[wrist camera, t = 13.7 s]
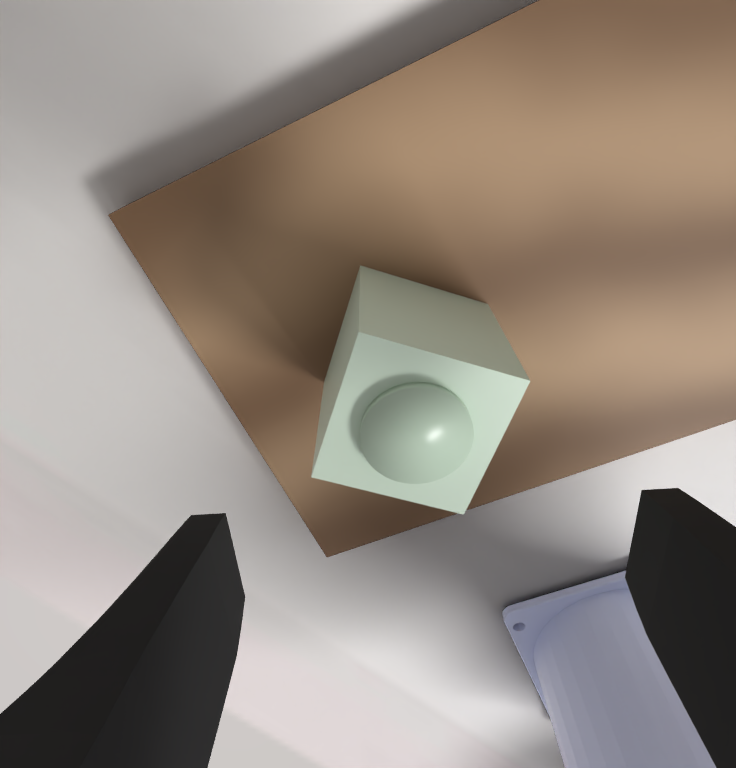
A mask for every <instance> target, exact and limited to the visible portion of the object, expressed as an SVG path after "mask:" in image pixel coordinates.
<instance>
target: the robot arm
mask: <svg viewBox="0 0 736 768" xmlns="http://www.w3.org/2000/svg"><path fill="white" fill-rule="evenodd" d="M244 602H245V594H244V590H243V586H242V582H241V577H240V573H239V569H238V564H237V560H236V556H235V552H234V547H233V543H232V539H231V534H230V530H229V526H228V522H227V517H226V513H222V514H204V515H191V516H190V517H189V518H188V519H187V520H186V522H185V523H184V524H183V525H182V526H181V527H180V528H179V529H178V530H177V532H176V533H175V534H174V535H173V536H172V537H171V538H170V540H169V541H168V542H167V543H166V544H165V545H164V547H163V548H162V549H161V550H160V551H159V552H158V554H157V555H156V556H155V557H154V558H153V559H152V560H151V562H150V563H149V564H148V565H147V566H146V567H145V568H144V570H143V571H142V572H141V573H140V574H139V575H138V576H137V578H136V579H135V580H134V581H133V582H132V583H131V584H130V585H129V586H128V588H127V589H126V590H125V591H124V592H123V593H122V594H121V595H120V596H119V597H118V599H117V600H116V601H115V602H114V603H113V604H112V605H111V606H110V607H109V609H108V610H107V611H106V612H105V613H104V614H103V615H102V616H101V617H100V618H99V619H98V620H97V621H96V622H95V623H94V624H93V626H92V627H91V628H90V629H89V630H88V631H87V632H86V633H85V634H84V635H83V636H82V637H81V638H80V639H79V640H78V641H77V642H76V643H75V644H74V645H73V646H72V647H71V648H70V649H69V650H68V651H67V652H66V653H65V654H64V655H63V656H62V657H61V658H60V659H59V660H58V661H57V662H56V663H55V664H54V665H53V666H52V667H51V668H50V669H49V670H48V671H47V672H46V673H45V674H44V675H43V676H42V677H41V678H39V680H37V681H36V682H35V683H34V684H33V685H32V686H31V687H30V688H29V689H28V690H27V691H26V692H24V693H23V694H22V695H21V696H20V697H19V698H18V699H17V700H16V701H14V702H13V703H12V704H11V705H10V706H9V707H8V708H7V709H6V710H4V711H3V712H2V713H1V714H0V768H207V767H208V763H209V759H210V756H211V752H212V748H213V744H214V741H215V737H216V733H217V729H218V726H219V722H220V718H221V714H222V711H223V707H224V703H225V699H226V695H227V691H228V688H229V684H230V680H231V676H232V672H233V668H234V664H235V660H236V656H237V651H238V644H239V638H240V631H241V624H242V617H243V609H244ZM502 615H503V619H504V623H505V625H506V627H507V629H508V631H509V633H510V635H511V637H512V639H513V641H514V643H515V645H516V648H517V650H518V652H519V654H520V656H521V658H522V660H523V662H524V664H525V666H526V668H527V671H528V673H529V675H530V677H531V679H532V681H533V683H534V685H535V687H536V689H537V691H538V694H539V696H540V698H541V700H542V702H543V704H544V706H545V708H546V710H547V712H548V714H549V717H550V719H551V722H552V725H553V729H554V732H555V736H556V739H557V742H558V746H559V749H560V753H561V756H562V760H563V763H564V766H565V768H736V527H735V526H733V525H732V524H730V523H729V522H728V521H726V520H725V519H723V518H722V517H720V516H719V515H717V514H716V513H715V512H713V511H712V510H710V509H709V508H707V507H706V506H704V505H703V504H701V503H700V502H699V501H697V500H696V499H694V498H693V497H691V496H690V495H688V494H686V493H685V492H683V491H682V490H680V489H678V488H672V489H654V490H642V492H641V497H640V502H639V507H638V512H637V517H636V523H635V528H634V533H633V538H632V543H631V548H630V553H629V559H628V564H627V569H626V571H623V572H619V573H616V574H613V575H609V576H606V577H603V578H599V579H596V580H593V581H589V582H586V583H583V584H579V585H576V586H573V587H569V588H566V589H563V590H559V591H556V592H553V593H549V594H546V595H543V596H539V597H536V598H533V599H529V600H526V601H523V602H519V603H516V604H513V605H510V606H508V607H506V608H505V609H504V610H503V612H502Z"/></svg>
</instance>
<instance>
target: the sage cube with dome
mask: <svg viewBox="0 0 736 768" xmlns="http://www.w3.org/2000/svg"><path fill="white" fill-rule="evenodd" d="M529 383H530V379H529V377H528V376H527V374H526V372H525V370H524V368H523V366H522V365H521V363H520V361H519V359H518V357H517V356H516V354H515V352H514V350H513V348H512V347H511V345H510V343H509V341H508V339H507V338H506V336H505V334H504V332H503V330H502V329H501V327H500V325H499V323H498V321H497V319H496V318H495V316H494V314H493V312H492V310H491V309H490V307H489V305H488V304H486V303H483V302H480V301H476V300H473V299H470V298H466V297H463V296H460V295H456V294H453V293H450V292H447V291H443V290H440V289H437V288H433V287H430V286H427V285H423V284H420V283H417V282H414V281H410V280H407V279H404V278H400V277H397V276H394V275H390V274H387V273H384V272H381V271H377V270H374V269H371V268H367V267H364V266H361V265H360V268H359V271H358V274H357V278H356V281H355V284H354V287H353V291H352V294H351V297H350V300H349V303H348V307H347V310H346V313H345V316H344V320H343V323H342V326H341V329H340V332H339V336H338V339H337V342H336V345H335V349H334V352H333V355H332V358H331V361H330V365H329V368H328V371H327V374H326V378H325V381H324V386H323V394H322V401H321V408H320V416H319V423H318V430H317V438H316V445H315V453H314V460H313V467H312V475H311V477H312V478H317V479H321V480H325V481H329V482H333V483H337V484H341V485H345V486H349V487H353V488H357V489H361V490H366V491H370V492H374V493H378V494H382V495H386V496H390V497H394V498H398V499H402V500H406V501H410V502H414V503H419V504H423V505H427V506H431V507H435V508H439V509H443V510H447V511H451V512H455V513H459V514H463V515H464V513H465V511H466V509H467V507H468V505H469V503H470V501H471V499H472V497H473V495H474V493H475V491H476V489H477V487H478V485H479V483H480V481H481V479H482V477H483V475H484V473H485V471H486V469H487V467H488V465H489V463H490V461H491V459H492V457H493V455H494V453H495V451H496V449H497V447H498V445H499V443H500V441H501V439H502V437H503V435H504V433H505V431H506V429H507V427H508V425H509V423H510V421H511V419H512V417H513V415H514V413H515V411H516V409H517V407H518V405H519V403H520V401H521V399H522V397H523V395H524V393H525V391H526V389H527V387H528V385H529Z"/></svg>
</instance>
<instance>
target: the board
mask: <svg viewBox="0 0 736 768" xmlns="http://www.w3.org/2000/svg"><path fill="white" fill-rule="evenodd" d="M108 216H109V217H110V219H111V220H112V222H113V223H114V225H115V227H116V228H117V230H118V231H119V233H120V234H121V236H122V237H123V239H124V241H125V242H126V244H127V245H128V247H129V248H130V250H131V252H132V253H133V255H134V256H135V258H136V259H137V261H138V262H139V264H140V266H141V267H142V269H143V270H144V272H145V273H146V275H147V277H148V278H149V280H150V281H151V283H152V284H153V286H154V288H155V289H156V291H157V292H158V294H159V295H160V297H161V298H162V300H163V302H164V303H165V305H166V306H167V308H168V309H169V311H170V313H171V314H172V316H173V317H174V319H175V320H176V322H177V324H178V325H179V327H180V328H181V330H182V331H183V333H184V334H185V336H186V338H187V339H188V341H189V342H190V344H191V345H192V347H193V349H194V350H195V352H196V353H197V355H198V356H199V358H200V359H201V361H202V363H203V364H204V366H205V367H206V369H207V370H208V372H209V374H210V375H211V377H212V378H213V380H214V381H215V383H216V385H217V386H218V388H219V389H220V391H221V392H222V394H223V395H224V397H225V399H226V400H227V402H228V403H229V405H230V406H231V408H232V410H233V411H234V413H235V414H236V416H237V417H238V419H239V421H240V422H241V424H242V425H243V427H244V428H245V430H246V431H247V433H248V435H249V436H250V438H251V439H252V441H253V442H254V444H255V446H256V447H257V449H258V450H259V452H260V453H261V455H262V457H263V458H264V460H265V461H266V463H267V464H268V466H269V467H270V469H271V471H272V472H273V474H274V475H275V477H276V478H277V480H278V482H279V483H280V485H281V486H282V488H283V489H284V491H285V492H286V494H287V496H288V497H289V499H290V500H291V502H292V503H293V505H294V507H295V508H296V510H297V511H298V513H299V514H300V516H301V518H302V519H303V521H304V522H305V524H306V525H307V527H308V528H309V530H310V532H311V533H312V535H313V536H314V538H315V539H316V541H317V543H318V544H319V546H320V547H321V549H322V550H323V552H324V554H325V555H326V557H330V556H333V555H336V554H339V553H342V552H344V551H347V550H350V549H353V548H356V547H359V546H362V545H365V544H368V543H371V542H374V541H377V540H380V539H383V538H386V537H389V536H392V535H395V534H398V533H401V532H404V531H407V530H410V529H413V528H416V527H419V526H422V525H425V524H428V523H431V522H434V521H436V520H439V519H442V518H445V517H448V516H451V515H454V514H457V513H455V512H451V511H447V510H443V509H439V508H435V507H431V506H427V505H423V504H419V503H414V502H410V501H406V500H402V499H398V498H394V497H390V496H386V495H382V494H378V493H374V492H370V491H366V490H361V489H357V488H353V487H349V486H345V485H341V484H337V483H333V482H329V481H325V480H321V479H317V478H312V477H311V475H312V467H313V460H314V453H315V445H316V438H317V430H318V423H319V416H320V408H321V401H322V394H323V386H324V381H325V378H326V374H327V371H328V368H329V365H330V361H331V358H332V355H333V352H334V349H335V345H336V342H337V339H338V336H339V332H340V329H341V326H342V323H343V320H344V316H345V313H346V310H347V307H348V303H349V300H350V297H351V294H352V291H353V287H354V284H355V281H356V278H357V274H358V271H359V268H360V265H361V266H364V267H367V268H371V269H374V270H377V271H381V272H384V273H387V274H390V275H394V276H397V277H400V278H404V279H407V280H410V281H414V282H417V283H420V284H423V285H427V286H430V287H433V288H437V289H440V290H443V291H447V292H450V293H453V294H456V295H460V296H463V297H466V298H470V299H473V300H476V301H480V302H483V303H486V304H488V305H489V307H490V309H491V310H492V312H493V314H494V316H495V318H496V319H497V321H498V323H499V325H500V327H501V329H502V330H503V332H504V334H505V336H506V338H507V339H508V341H509V343H510V345H511V347H512V348H513V350H514V352H515V354H516V356H517V357H518V359H519V361H520V363H521V365H522V366H523V368H524V370H525V372H526V374H527V376H528V377H529V379H530V383H529V385H528V387H527V389H526V391H525V393H524V395H523V397H522V399H521V401H520V403H519V405H518V407H517V409H516V411H515V413H514V415H513V417H512V419H511V421H510V423H509V425H508V427H507V429H506V431H505V433H504V435H503V437H502V439H501V441H500V443H499V445H498V447H497V449H496V451H495V453H494V455H493V457H492V459H491V461H490V463H489V465H488V467H487V469H486V471H485V473H484V475H483V477H482V479H481V481H480V483H479V485H478V487H477V489H476V491H475V493H474V495H473V497H472V499H471V501H470V503H469V505H468V507H467V509H466V510H469V509H472V508H475V507H478V506H481V505H484V504H487V503H490V502H493V501H496V500H499V499H502V498H505V497H508V496H511V495H514V494H517V493H520V492H523V491H526V490H528V489H531V488H534V487H537V486H540V485H543V484H546V483H549V482H552V481H555V480H558V479H561V478H564V477H567V476H570V475H573V474H576V473H579V472H582V471H585V470H588V469H591V468H594V467H597V466H600V465H603V464H606V463H609V462H612V461H615V460H618V459H620V458H623V457H626V456H629V455H632V454H635V453H638V452H641V451H644V450H647V449H650V448H653V447H656V446H659V445H662V444H665V443H668V442H671V441H674V440H677V439H680V438H683V437H686V436H689V435H692V434H695V433H698V432H701V431H704V430H707V429H710V428H712V427H715V426H718V425H721V424H724V423H727V422H730V421H733V420H736V0H538V1H536V2H534V3H532V4H530V5H528V6H526V7H524V8H522V9H520V10H518V11H516V12H514V13H512V14H510V15H508V16H506V17H504V18H502V19H500V20H498V21H496V22H494V23H492V24H490V25H488V26H486V27H484V28H482V29H480V30H478V31H476V32H474V33H472V34H470V35H468V36H466V37H464V38H462V39H460V40H458V41H456V42H454V43H452V44H450V45H448V46H446V47H444V48H442V49H440V50H438V51H436V52H434V53H432V54H430V55H428V56H426V57H424V58H422V59H420V60H418V61H416V62H414V63H412V64H410V65H408V66H406V67H404V68H402V69H400V70H398V71H396V72H394V73H392V74H390V75H387V76H385V77H383V78H381V79H379V80H377V81H375V82H373V83H371V84H369V85H367V86H365V87H363V88H361V89H359V90H357V91H355V92H353V93H351V94H349V95H347V96H345V97H343V98H341V99H339V100H337V101H335V102H333V103H331V104H329V105H327V106H325V107H323V108H321V109H319V110H317V111H315V112H313V113H311V114H309V115H307V116H305V117H303V118H301V119H299V120H297V121H295V122H293V123H291V124H289V125H287V126H285V127H283V128H281V129H279V130H277V131H275V132H273V133H271V134H269V135H267V136H265V137H263V138H261V139H259V140H257V141H255V142H253V143H251V144H249V145H247V146H245V147H243V148H241V149H239V150H237V151H235V152H233V153H231V154H229V155H227V156H225V157H223V158H221V159H219V160H217V161H215V162H213V163H211V164H209V165H207V166H205V167H203V168H201V169H199V170H197V171H195V172H193V173H191V174H188V175H186V176H184V177H182V178H180V179H178V180H176V181H174V182H172V183H170V184H168V185H166V186H164V187H162V188H160V189H158V190H156V191H154V192H152V193H150V194H148V195H146V196H144V197H142V198H140V199H138V200H136V201H134V202H132V203H130V204H128V205H126V206H124V207H122V208H120V209H118V210H116V211H115V212H113V213H111V214H109V215H108Z"/></svg>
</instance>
